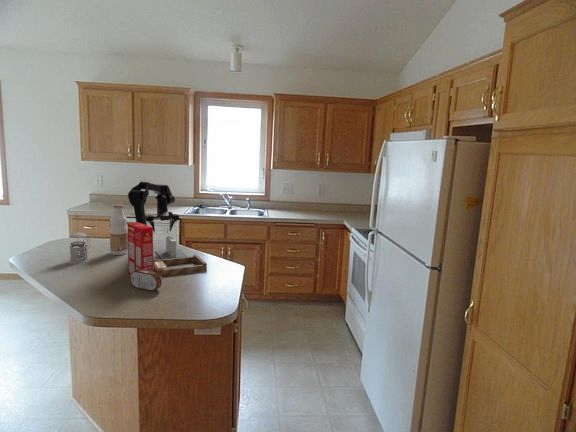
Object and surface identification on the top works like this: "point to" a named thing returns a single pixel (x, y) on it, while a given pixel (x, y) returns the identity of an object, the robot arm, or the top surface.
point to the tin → (145, 279)
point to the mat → (165, 255)
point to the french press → (74, 251)
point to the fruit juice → (118, 232)
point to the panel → (171, 246)
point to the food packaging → (140, 247)
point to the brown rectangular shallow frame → (182, 270)
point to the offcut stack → (160, 267)
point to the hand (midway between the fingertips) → (162, 232)
